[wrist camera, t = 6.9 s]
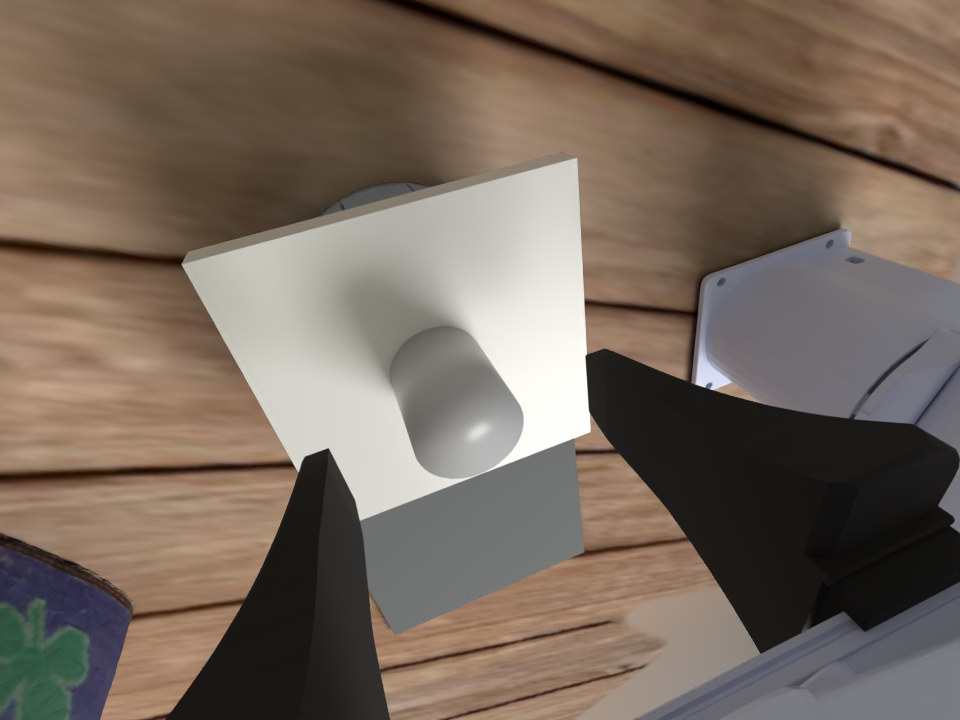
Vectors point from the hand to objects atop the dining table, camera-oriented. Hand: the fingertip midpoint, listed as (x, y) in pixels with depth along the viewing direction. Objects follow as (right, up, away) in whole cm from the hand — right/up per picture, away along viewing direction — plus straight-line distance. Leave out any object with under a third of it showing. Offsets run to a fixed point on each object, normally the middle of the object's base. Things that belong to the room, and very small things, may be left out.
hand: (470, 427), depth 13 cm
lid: (-1, +2, +4) cm, 5 cm away
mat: (0, -8, +16) cm, 18 cm away
